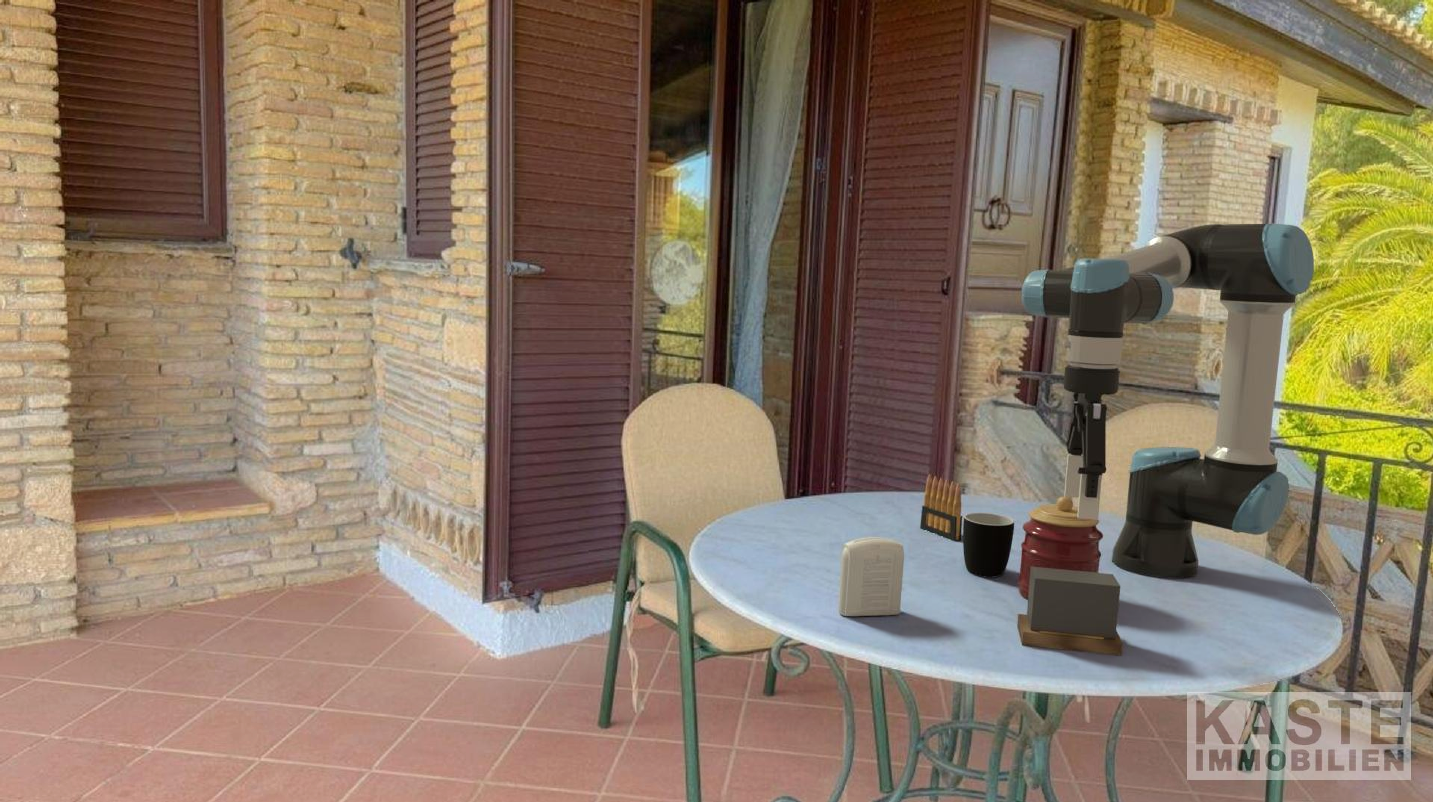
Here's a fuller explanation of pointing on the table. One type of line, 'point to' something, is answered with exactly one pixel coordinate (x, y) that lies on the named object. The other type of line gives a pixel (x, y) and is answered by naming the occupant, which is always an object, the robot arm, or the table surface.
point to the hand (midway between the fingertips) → (1080, 507)
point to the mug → (987, 543)
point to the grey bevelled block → (1073, 602)
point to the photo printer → (871, 577)
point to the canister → (1058, 541)
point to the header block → (1067, 640)
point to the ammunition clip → (942, 509)
